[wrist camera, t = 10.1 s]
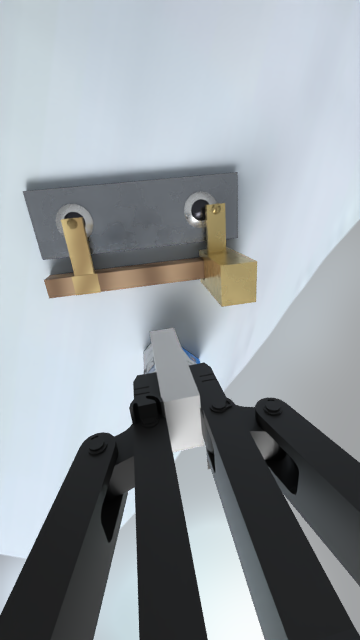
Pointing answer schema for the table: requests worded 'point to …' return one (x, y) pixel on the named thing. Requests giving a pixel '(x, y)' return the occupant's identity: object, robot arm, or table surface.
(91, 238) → the gray rectangular panel
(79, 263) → the beam
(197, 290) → the table surface
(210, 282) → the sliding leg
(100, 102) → the table surface
